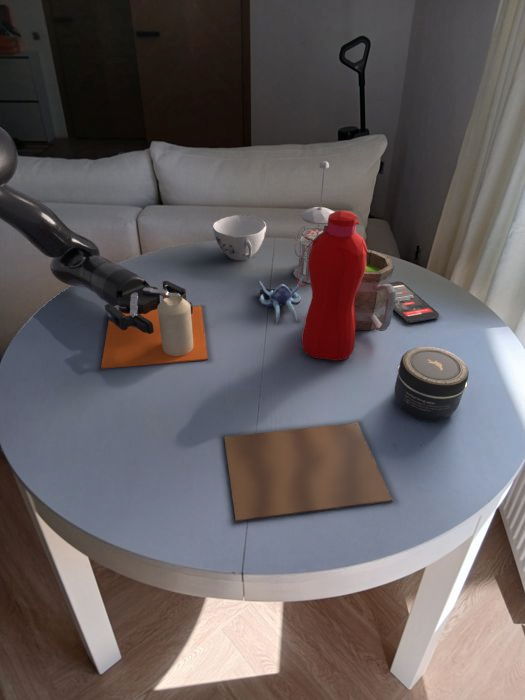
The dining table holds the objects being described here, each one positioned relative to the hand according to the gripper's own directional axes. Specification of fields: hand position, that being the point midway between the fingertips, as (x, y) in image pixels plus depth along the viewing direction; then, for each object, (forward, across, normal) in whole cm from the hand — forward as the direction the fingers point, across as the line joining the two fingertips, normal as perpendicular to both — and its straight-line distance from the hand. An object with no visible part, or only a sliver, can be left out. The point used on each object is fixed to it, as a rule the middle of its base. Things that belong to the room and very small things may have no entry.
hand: (172, 319), depth 85 cm
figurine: (+4, +24, +6) cm, 25 cm away
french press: (0, +40, +6) cm, 40 cm away
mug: (+19, +31, +6) cm, 37 cm away
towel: (-6, 0, +6) cm, 8 cm away
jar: (+40, +18, +6) cm, 44 cm away
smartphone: (+21, +44, +6) cm, 49 cm away
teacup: (-18, +34, +6) cm, 39 cm away
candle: (+1, 0, +6) cm, 6 cm away
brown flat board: (+34, -5, +6) cm, 35 cm away
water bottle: (+19, +19, +6) cm, 27 cm away
